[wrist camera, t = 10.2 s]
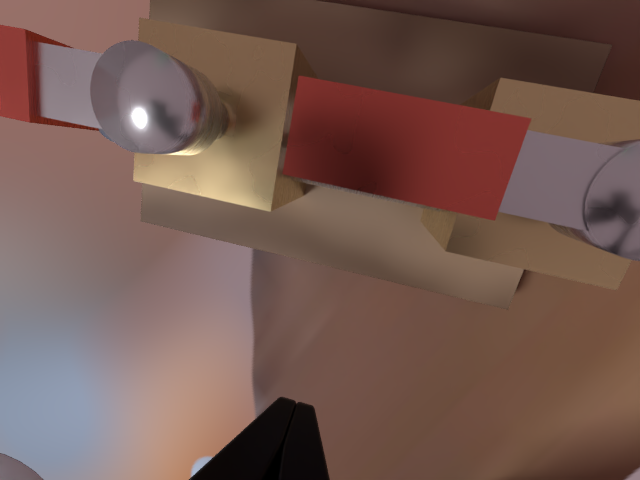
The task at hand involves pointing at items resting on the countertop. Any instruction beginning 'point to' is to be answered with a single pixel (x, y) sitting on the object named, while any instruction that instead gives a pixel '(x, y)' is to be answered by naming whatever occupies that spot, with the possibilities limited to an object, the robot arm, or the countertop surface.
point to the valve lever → (465, 162)
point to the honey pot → (15, 470)
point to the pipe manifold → (276, 128)
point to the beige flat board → (386, 75)
